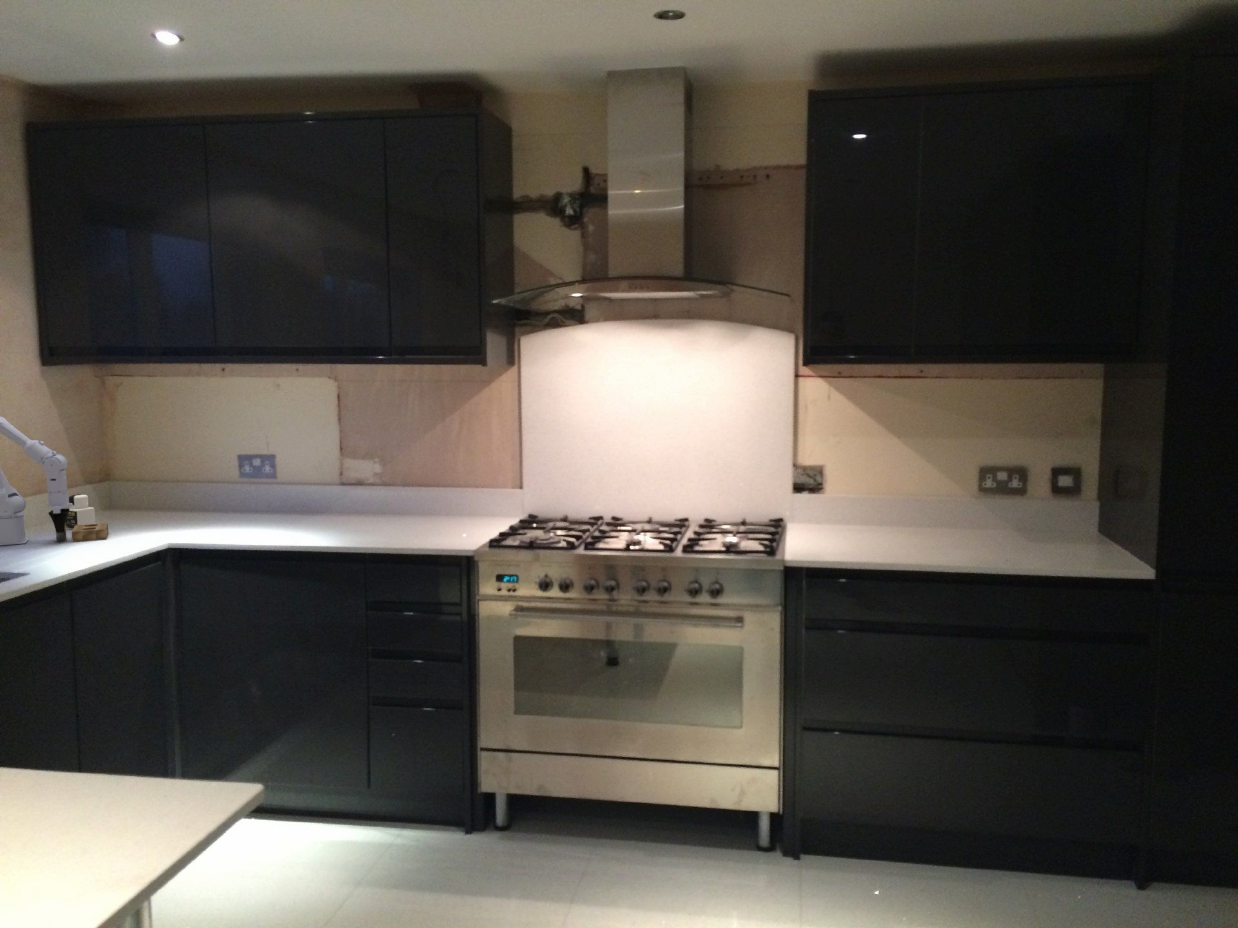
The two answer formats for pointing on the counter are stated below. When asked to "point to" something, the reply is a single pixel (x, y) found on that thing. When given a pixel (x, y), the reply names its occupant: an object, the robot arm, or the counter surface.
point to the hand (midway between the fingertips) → (60, 531)
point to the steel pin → (61, 536)
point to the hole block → (90, 532)
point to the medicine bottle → (79, 511)
